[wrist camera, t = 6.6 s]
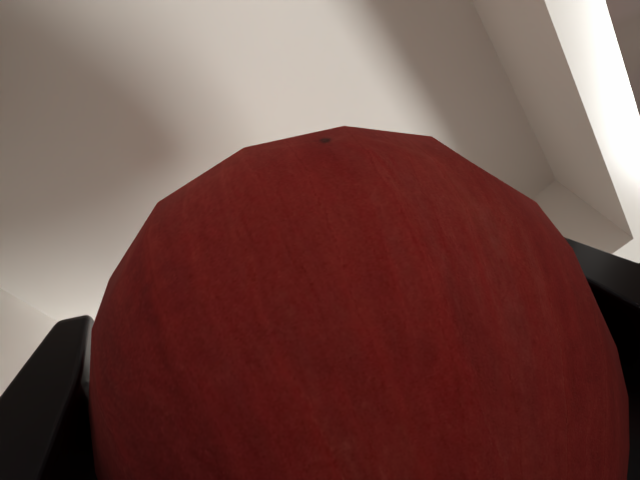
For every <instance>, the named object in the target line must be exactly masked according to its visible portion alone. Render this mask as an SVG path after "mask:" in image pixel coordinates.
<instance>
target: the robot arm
mask: <svg viewBox="0 0 640 480" xmlns="http://www.w3.org/2000/svg"><path fill="white" fill-rule="evenodd" d="M564 238H565V237H564ZM565 239H566V241H567V242H568V243H569V245H570V246H571V247H572V248H573V250H574V253H575V255H576V257H577V259H578V262H579V264H580V266H581V268H582V271H583V273H584V275H585V277H586V280H587V282H588V284H589V286H590V288H591V291H592V293H593V295H594V297H595V300H596V302H597V304H598V306H599V309H600V311H601V313H602V315H603V318H604V320H605V322H606V324H607V327H608V329H609V331H610V333H611V336H612V338H613V340H614V342H615V344H616V347H617V350H618V354H619V359H620V363H621V367H622V372H623V376H624V380H625V385H626V389H627V394H628V403H629V444H630V448H629V460H628V472H627V480H640V264H639V263H636V262H633V261H630V260H627V259H625V258H622V257H619V256H616V255H613V254H610V253H608V252H605V251H602V250H599V249H596V248H594V247H591V246H588V245H585V244H582V243H579V242H577V241H574V240H571V239H568V238H565ZM93 324H94V320H93V318H92V317H91V316H89V315H82V316H78V317H73V318H68V319H64V320H61V321H58V322H57V323H56V324H55V325H54V326H53V327H52V329H51V330H50V331H49V333H48V334H47V335H46V337H45V338H44V339H43V341H42V342H41V343H40V345H39V346H38V347H37V348H36V350H35V351H34V352H33V354H32V355H31V356H30V358H29V359H28V360H27V362H26V363H25V364H24V366H23V367H22V368H21V370H20V371H19V372H18V374H17V375H16V376H15V378H14V379H13V380H12V382H11V383H10V384H9V386H8V387H7V388H6V390H5V391H4V392H3V393H2V395H1V396H0V480H98V479H97V476H96V474H95V466H94V457H93V448H92V440H91V431H90V423H89V414H88V403H89V379H90V355H91V331H92V327H93Z"/></svg>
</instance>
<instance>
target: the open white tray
mask: <svg viewBox="0 0 640 480" xmlns="http://www.w3.org/2000/svg"><path fill="white" fill-rule="evenodd" d="M341 126H350V127H359V128H367V129H375V130H383V131H391V132H399V133H408V134H416V135H424V136H432V137H433V138H435V139H437V140H438V141H440V142H441V143H443V144H444V145H446V146H447V147H449V148H450V149H452V150H453V151H455V152H457V153H458V154H460V155H461V156H463V157H464V158H466V159H467V160H469V161H470V162H472V163H474V164H475V165H477V166H478V167H480V168H482V169H483V170H485V171H487V172H488V173H490V174H491V175H493V176H495V177H496V178H498V179H500V180H501V181H503V182H504V183H506V184H508V185H509V186H511V187H513V188H514V189H516V190H517V191H519V192H521V193H522V194H524V195H526V196H527V197H529V198H530V199H532V200H534V201H535V202H537V204H538V205H539V206H540V207H541V209H542V210H543V211H544V213H545V214H546V215H547V216H548V218H549V219H550V220H551V222H552V223H553V224H554V225H555V227H556V228H557V229H558V230H559V232H560V233H561V234H562V236H563V237H565V238H568V239H571V240H574V241H577V242H579V243H582V244H585V245H588V246H591V247H594V248H596V249H599V250H602V251H605V252H608V253H610V254H613V255H616V256H619V257H622V258H625V259H627V260H630V261H633V262H636V263H640V116H639V113H638V110H637V106H636V103H635V99H634V96H633V93H632V89H631V86H630V82H629V79H628V76H627V72H626V69H625V66H624V62H623V59H622V55H621V52H620V49H619V45H618V42H617V39H616V35H615V32H614V28H613V25H612V22H611V18H610V15H609V12H608V8H607V5H606V1H605V0H0V396H1V395H2V393H3V392H4V391H5V390H6V388H7V387H8V386H9V384H10V383H11V382H12V380H13V379H14V378H15V376H16V375H17V374H18V372H19V371H20V370H21V368H22V367H23V366H24V364H25V363H26V362H27V360H28V359H29V358H30V356H31V355H32V354H33V352H34V351H35V350H36V348H37V347H38V346H39V345H40V343H41V342H42V341H43V339H44V338H45V337H46V335H47V334H48V333H49V331H50V330H51V329H52V327H53V326H54V325H55V324H56V323H57V322H58V321H61V320H64V319H68V318H73V317H78V316H82V315H89V316H91V317H92V318H93V320H94V321H95V318H96V315H97V312H98V310H99V307H100V304H101V301H102V298H103V295H104V292H105V290H106V287H107V284H108V281H109V278H110V277H111V275H112V274H113V272H114V271H115V269H116V267H117V266H118V264H119V263H120V261H121V259H122V258H123V256H124V255H125V253H126V251H127V250H128V248H129V247H130V245H131V244H132V242H133V240H134V239H135V237H136V236H137V234H138V232H139V231H140V229H141V228H142V226H143V225H144V223H145V221H146V220H147V218H148V217H149V215H150V213H151V212H152V210H153V209H154V207H155V206H156V204H157V202H159V201H160V200H162V199H164V198H165V197H167V196H168V195H170V194H171V193H173V192H175V191H176V190H178V189H179V188H181V187H182V186H184V185H186V184H187V183H189V182H190V181H192V180H194V179H195V178H197V177H198V176H200V175H201V174H203V173H205V172H206V171H208V170H209V169H211V168H212V167H214V166H216V165H217V164H219V163H220V162H222V161H223V160H225V159H227V158H228V157H230V156H231V155H233V154H234V153H236V152H238V151H239V150H241V149H242V148H244V147H248V146H253V145H258V144H262V143H267V142H272V141H276V140H281V139H285V138H290V137H295V136H299V135H304V134H308V133H313V132H318V131H322V130H327V129H332V128H336V127H341Z"/></svg>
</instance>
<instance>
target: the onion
mask: <svg viewBox="0 0 640 480" xmlns="http://www.w3.org/2000/svg"><path fill="white" fill-rule="evenodd" d="M88 414H89V423H90V431H91V440H92V448H93V457H94V466H95V474H96V476H97V479H98V480H627V472H628V460H629V448H630V444H629V403H628V394H627V389H626V385H625V380H624V376H623V372H622V367H621V363H620V359H619V354H618V350H617V347H616V344H615V342H614V340H613V338H612V336H611V333H610V331H609V329H608V327H607V324H606V322H605V320H604V318H603V315H602V313H601V311H600V309H599V306H598V304H597V302H596V300H595V297H594V295H593V293H592V291H591V288H590V286H589V284H588V282H587V280H586V277H585V275H584V273H583V271H582V268H581V266H580V264H579V262H578V259H577V257H576V255H575V253H574V250H573V248H572V247H571V246H570V245H569V243H568V242H567V241H566V239H565V238H564V237H563V236H562V234H561V233H560V232H559V230H558V229H557V228H556V227H555V225H554V224H553V223H552V222H551V220H550V219H549V218H548V216H547V215H546V214H545V213H544V211H543V210H542V209H541V207H540V206H539V205H538V204H537V202H535V201H534V200H532V199H530V198H529V197H527V196H526V195H524V194H522V193H521V192H519V191H517V190H516V189H514V188H513V187H511V186H509V185H508V184H506V183H504V182H503V181H501V180H500V179H498V178H496V177H495V176H493V175H491V174H490V173H488V172H487V171H485V170H483V169H482V168H480V167H478V166H477V165H475V164H474V163H472V162H470V161H469V160H467V159H466V158H464V157H463V156H461V155H460V154H458V153H457V152H455V151H453V150H452V149H450V148H449V147H447V146H446V145H444V144H443V143H441V142H440V141H438V140H437V139H435V138H433V137H432V136H424V135H416V134H408V133H399V132H391V131H383V130H375V129H367V128H359V127H350V126H341V127H336V128H332V129H327V130H322V131H318V132H313V133H308V134H304V135H299V136H295V137H290V138H285V139H281V140H276V141H272V142H267V143H262V144H258V145H253V146H248V147H244V148H242V149H241V150H239V151H238V152H236V153H234V154H233V155H231V156H230V157H228V158H227V159H225V160H223V161H222V162H220V163H219V164H217V165H216V166H214V167H212V168H211V169H209V170H208V171H206V172H205V173H203V174H201V175H200V176H198V177H197V178H195V179H194V180H192V181H190V182H189V183H187V184H186V185H184V186H182V187H181V188H179V189H178V190H176V191H175V192H173V193H171V194H170V195H168V196H167V197H165V198H164V199H162V200H160V201H159V202H157V204H156V206H155V207H154V209H153V210H152V212H151V213H150V215H149V217H148V218H147V220H146V221H145V223H144V225H143V226H142V228H141V229H140V231H139V232H138V234H137V236H136V237H135V239H134V240H133V242H132V244H131V245H130V247H129V248H128V250H127V251H126V253H125V255H124V256H123V258H122V259H121V261H120V263H119V264H118V266H117V267H116V269H115V271H114V272H113V274H112V275H111V277H110V278H109V281H108V284H107V287H106V290H105V292H104V295H103V298H102V301H101V304H100V307H99V310H98V312H97V315H96V318H95V321H94V324H93V327H92V331H91V355H90V379H89V403H88Z"/></svg>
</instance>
